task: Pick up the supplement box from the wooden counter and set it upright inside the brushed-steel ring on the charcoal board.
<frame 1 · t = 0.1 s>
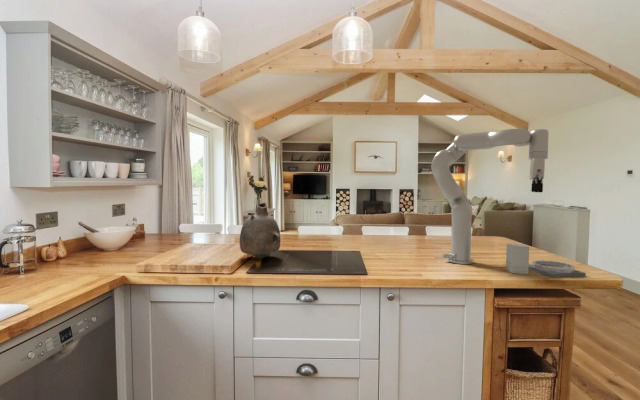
hand: (536, 192, 159), 37 cm above the counter, tool pointing down, fingers open, 9 cm apart
jug: (260, 258, 179), on the counter
charcoal board: (552, 271, 156), on the counter
steel ring: (552, 266, 156), on the charcoal board, point 2 cm above the counter
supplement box: (516, 272, 156), on the counter
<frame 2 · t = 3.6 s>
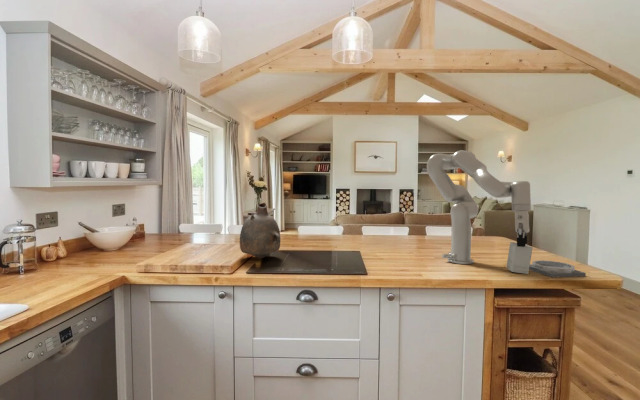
hand: (522, 245, 154), 13 cm above the counter, tool pointing down, fingers open, 9 cm apart
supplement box: (516, 271, 156), on the counter, touching gripper
everything else where it was.
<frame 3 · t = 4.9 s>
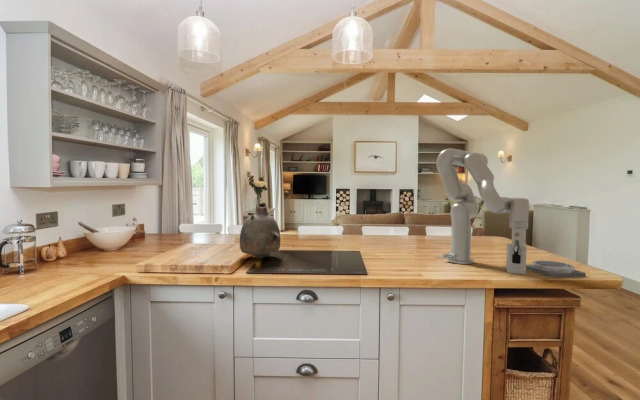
hand: (517, 261, 155), 5 cm above the counter, tool pointing down, fingers open, 9 cm apart
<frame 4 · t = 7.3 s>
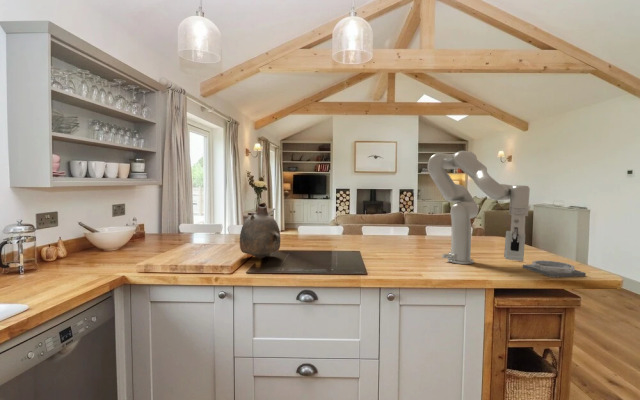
hand: (515, 249, 156), 11 cm above the counter, tool pointing down, fingers closed on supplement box, 8 cm apart
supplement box: (513, 259, 156), point 6 cm above the counter, touching gripper
everything else where it was.
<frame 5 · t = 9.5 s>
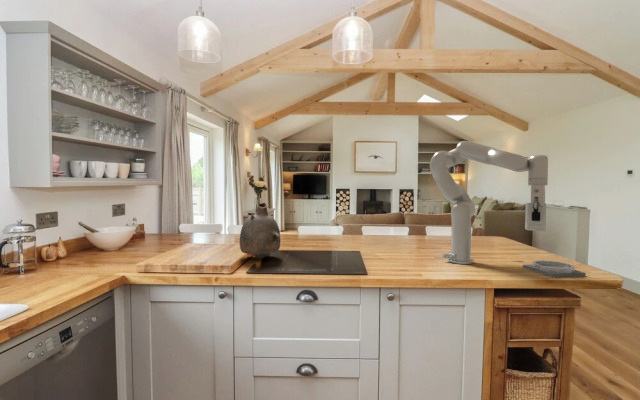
hand: (536, 219, 154), 24 cm above the counter, tool pointing down, fingers closed on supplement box, 8 cm apart
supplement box: (534, 230, 155), point 19 cm above the counter, touching gripper
everything else where it was.
when the fingers open (6 cm above the counter, at t = 13.7 s): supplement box stays where it is, resting on charcoal board.
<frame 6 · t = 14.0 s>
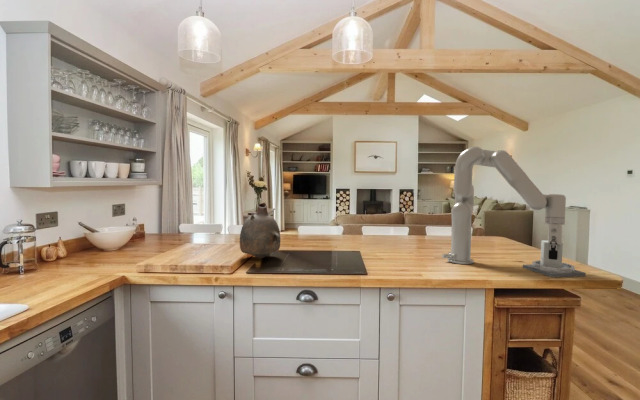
hand: (553, 257, 156), 7 cm above the counter, tool pointing down, fingers open, 9 cm apart
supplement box: (550, 268, 156), point 1 cm above the counter, touching charcoal board
everything else where it was.
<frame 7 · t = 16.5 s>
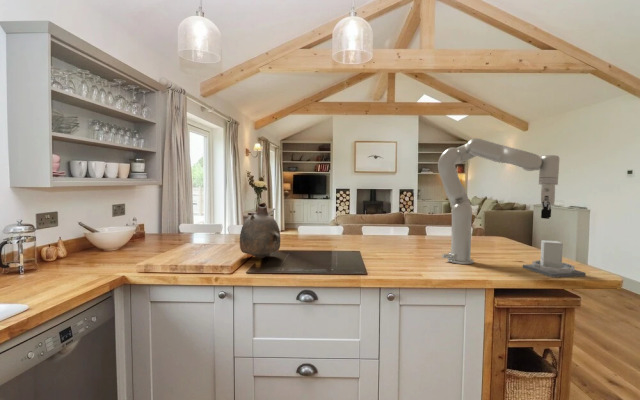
hand: (545, 217, 159), 25 cm above the counter, tool pointing down, fingers open, 9 cm apart
nothing on the counter moved.
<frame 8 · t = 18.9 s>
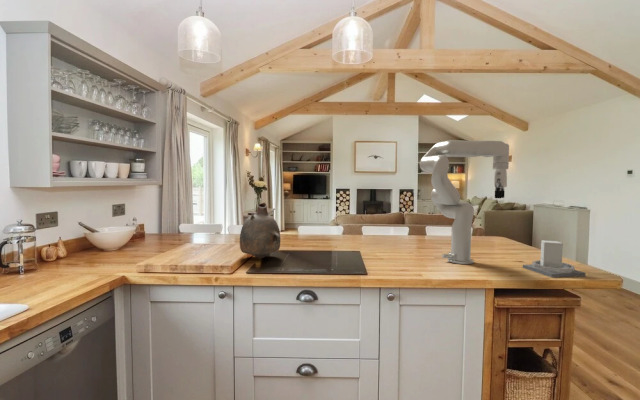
hand: (499, 198, 182), 33 cm above the counter, tool pointing down, fingers open, 9 cm apart
nothing on the counter moved.
at the end: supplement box 0.8 cm off-centre on the charcoal board, point 1.3 cm above the charcoal board's base; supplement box tilted 0°; the gripper is holding nothing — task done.
